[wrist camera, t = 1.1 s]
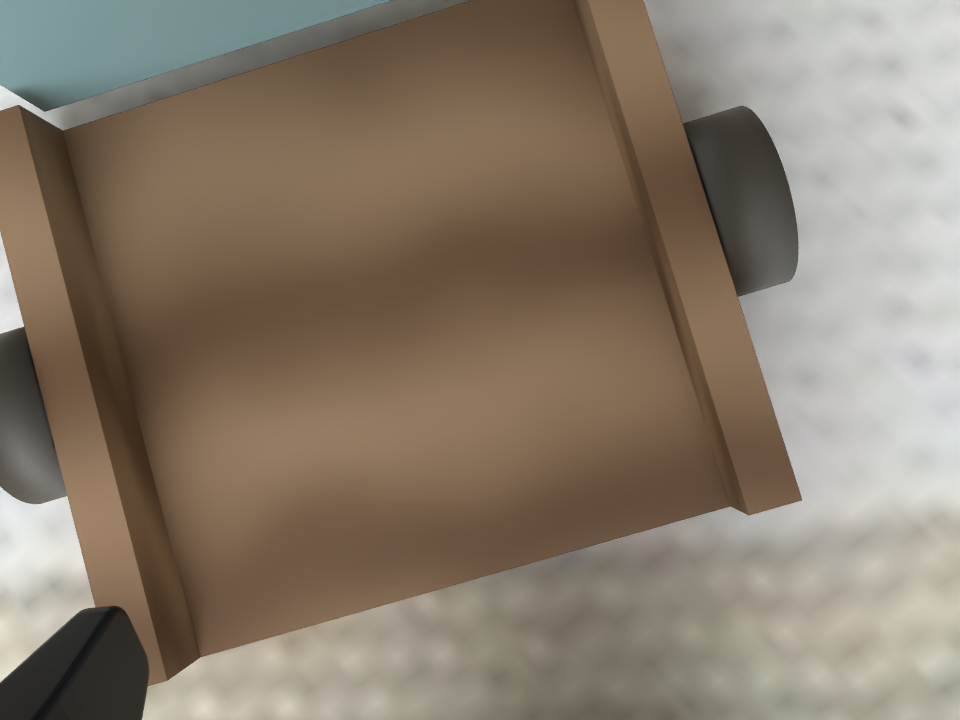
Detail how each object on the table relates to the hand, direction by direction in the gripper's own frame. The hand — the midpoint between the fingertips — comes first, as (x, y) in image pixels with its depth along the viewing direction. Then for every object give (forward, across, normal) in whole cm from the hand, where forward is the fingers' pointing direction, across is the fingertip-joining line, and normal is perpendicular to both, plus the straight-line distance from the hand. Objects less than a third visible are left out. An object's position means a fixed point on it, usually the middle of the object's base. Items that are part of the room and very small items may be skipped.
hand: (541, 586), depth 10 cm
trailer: (+15, +3, +4) cm, 16 cm away
